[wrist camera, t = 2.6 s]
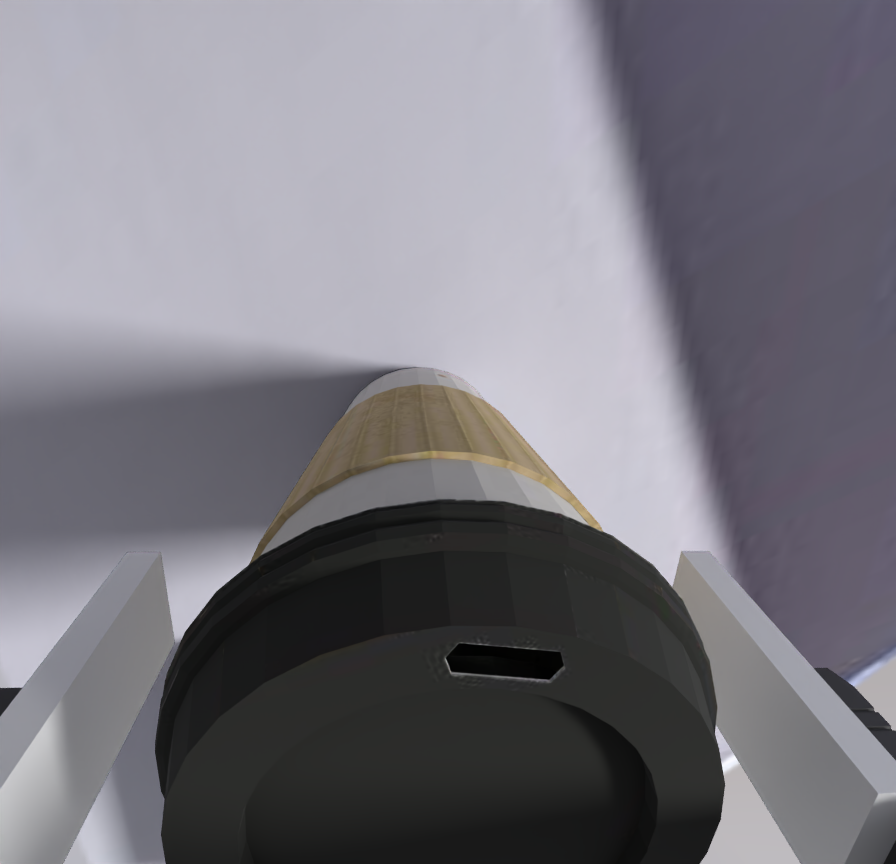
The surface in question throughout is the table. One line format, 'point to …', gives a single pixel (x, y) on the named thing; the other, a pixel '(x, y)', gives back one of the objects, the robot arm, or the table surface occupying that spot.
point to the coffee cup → (438, 667)
